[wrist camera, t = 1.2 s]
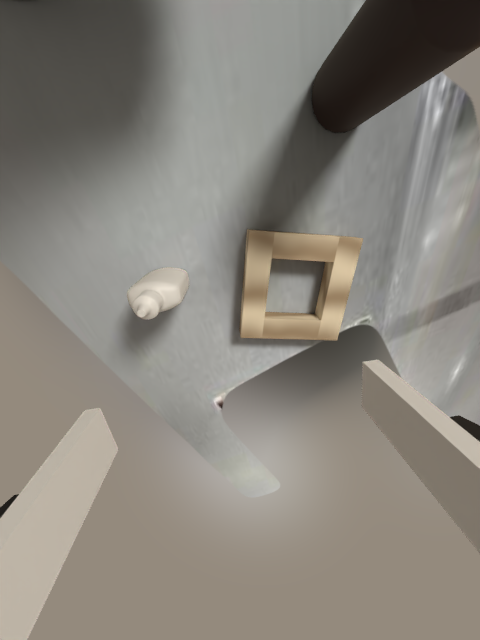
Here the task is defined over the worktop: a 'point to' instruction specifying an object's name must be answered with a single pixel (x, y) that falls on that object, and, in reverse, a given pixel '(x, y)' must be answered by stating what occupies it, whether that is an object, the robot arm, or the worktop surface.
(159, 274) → the eye dropper bottle
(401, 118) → the worktop surface
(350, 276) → the square wooden frame
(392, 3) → the vinegar
